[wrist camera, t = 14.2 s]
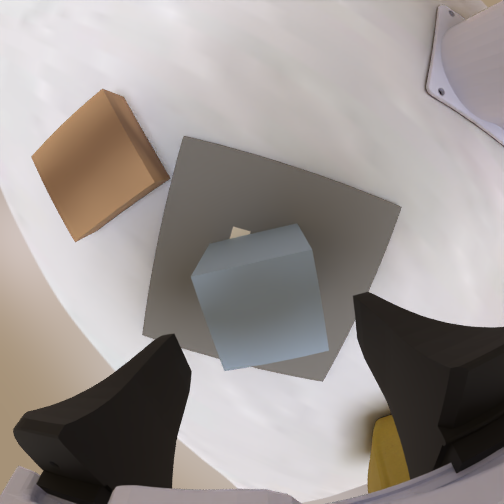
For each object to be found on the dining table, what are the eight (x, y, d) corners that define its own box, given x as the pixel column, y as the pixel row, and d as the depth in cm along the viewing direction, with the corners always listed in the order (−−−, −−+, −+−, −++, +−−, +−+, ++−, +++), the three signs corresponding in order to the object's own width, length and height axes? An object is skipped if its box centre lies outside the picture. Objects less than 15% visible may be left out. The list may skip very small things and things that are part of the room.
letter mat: (398, 205, 16) (401, 207, 16) (321, 378, 20) (322, 381, 20) (185, 136, 16) (183, 136, 15) (144, 331, 19) (142, 335, 19)
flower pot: (447, 379, 21) (493, 449, 12) (431, 435, 23) (460, 496, 14) (356, 409, 21) (383, 497, 13) (354, 459, 24) (371, 530, 15)
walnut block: (171, 178, 17) (154, 182, 14) (99, 229, 18) (75, 242, 15) (125, 97, 15) (102, 88, 12) (59, 154, 16) (31, 156, 13)
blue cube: (297, 223, 17) (312, 249, 12) (312, 302, 18) (329, 350, 13) (209, 243, 17) (190, 276, 12) (232, 319, 18) (224, 370, 14)
